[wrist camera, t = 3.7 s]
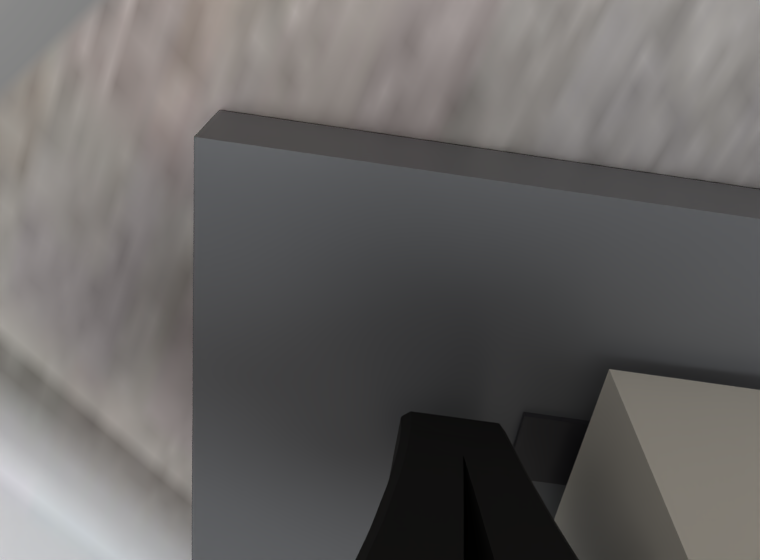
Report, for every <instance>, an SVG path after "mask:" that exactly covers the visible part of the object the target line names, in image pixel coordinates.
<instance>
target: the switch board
mask: <svg viewBox="0 0 760 560" xmlns="http://www.w3.org/2000/svg"><path fill="white" fill-rule="evenodd" d="M609 369H612V370H620V371H627V372H634V373H641V374H649V375H656V376H663V377H670V378H677V379H685V380H692V381H699V382H706V383H714V384H721V385H728V386H735V387H742V388H750V389H757V390H760V189H754V188H747V187H740V186H733V185H726V184H720V183H713V182H706V181H699V180H692V179H685V178H679V177H672V176H665V175H658V174H651V173H644V172H638V171H631V170H624V169H617V168H610V167H604V166H597V165H590V164H583V163H576V162H569V161H563V160H556V159H549V158H542V157H535V156H528V155H522V154H515V153H508V152H501V151H494V150H488V149H481V148H474V147H467V146H460V145H453V144H447V143H440V142H433V141H426V140H419V139H412V138H406V137H399V136H392V135H385V134H378V133H372V132H365V131H358V130H351V129H344V128H337V127H331V126H324V125H317V124H310V123H303V122H296V121H290V120H283V119H276V118H269V117H262V116H256V115H249V114H242V113H235V112H228V111H221V110H219V111H218V112H217V113H216V114H215V115H214V116H213V117H212V118H211V119H210V120H209V122H208V123H207V124H206V125H205V126H204V127H203V128H202V129H201V130H200V131H199V132H198V133H197V134H196V135H195V136H194V261H193V436H192V560H355V559H356V557H357V555H358V553H359V551H360V549H361V547H362V545H363V543H364V541H365V539H366V536H367V534H368V532H369V530H370V527H371V525H372V522H373V520H374V517H375V515H376V512H377V510H378V507H379V504H380V502H381V499H382V497H383V494H384V492H385V489H386V486H387V484H388V481H389V476H390V471H391V466H392V461H393V455H394V450H395V445H396V440H397V435H398V429H399V424H400V419H401V416H403V415H405V414H407V413H408V412H410V411H413V412H420V413H428V414H435V415H442V416H450V417H457V418H465V419H472V420H479V421H487V422H494V423H499V424H500V425H501V426H502V428H503V429H504V430H505V432H506V434H507V436H508V438H509V440H510V442H511V444H512V445H513V447H514V449H515V451H516V453H517V455H518V457H519V459H520V461H521V462H522V464H523V466H524V468H525V470H526V472H527V473H528V475H529V477H530V479H531V481H532V482H533V484H534V486H535V488H536V490H537V491H538V493H539V495H540V497H541V498H542V500H543V502H544V504H545V505H546V507H547V509H548V510H549V512H550V514H551V515H552V517H553V519H554V518H555V515H556V513H557V510H558V507H559V504H560V502H561V499H562V496H563V494H564V491H565V488H566V485H567V483H568V480H569V477H570V474H571V472H572V469H573V466H574V463H575V461H576V458H577V455H578V453H579V450H580V447H581V444H582V442H583V439H584V436H585V433H586V431H587V428H588V425H589V423H590V420H591V417H592V414H593V412H594V409H595V406H596V403H597V401H598V398H599V395H600V392H601V390H602V387H603V384H604V382H605V379H606V376H607V373H608V371H609Z"/></svg>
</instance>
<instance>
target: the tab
mask: <svg viewBox="0 0 760 560" xmlns="http://www.w3.org/2000/svg"><path fill="white" fill-rule="evenodd" d="M554 521H555V522H556V524H557V525H558V527H559V529H560V530H561V532H562V534H563V535H564V537H565V538H566V540H567V542H568V543H569V545H570V546H571V548H572V550H573V551H574V553H575V554H576V556H577V558H578V559H579V560H760V390H757V389H750V388H742V387H735V386H728V385H721V384H714V383H706V382H699V381H692V380H685V379H677V378H670V377H663V376H656V375H649V374H641V373H634V372H627V371H620V370H612V369H609V371H608V373H607V376H606V379H605V382H604V384H603V387H602V390H601V392H600V395H599V398H598V401H597V403H596V406H595V409H594V412H593V414H592V417H591V420H590V423H589V425H588V428H587V431H586V433H585V436H584V439H583V442H582V444H581V447H580V450H579V453H578V455H577V458H576V461H575V463H574V466H573V469H572V472H571V474H570V477H569V480H568V483H567V485H566V488H565V491H564V494H563V496H562V499H561V502H560V504H559V507H558V510H557V513H556V515H555V518H554Z"/></svg>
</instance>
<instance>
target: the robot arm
mask: <svg viewBox="0 0 760 560" xmlns="http://www.w3.org/2000/svg"><path fill="white" fill-rule="evenodd" d="M355 560H579V559H578V558H577V556H576V554H575V553H574V551H573V550H572V548H571V546H570V545H569V543H568V542H567V540H566V538H565V537H564V535H563V534H562V532H561V530H560V529H559V527H558V525H557V524H556V522H555V521H554V519H553V517H552V515H551V514H550V512H549V510H548V509H547V507H546V505H545V504H544V502H543V500H542V498H541V497H540V495H539V493H538V491H537V490H536V488H535V486H534V484H533V482H532V481H531V479H530V477H529V475H528V473H527V472H526V470H525V468H524V466H523V464H522V462H521V461H520V459H519V457H518V455H517V453H516V451H515V449H514V447H513V445H512V444H511V442H510V440H509V438H508V436H507V434H506V432H505V430H504V429H503V428H502V426H501V425H500V424H499V423H494V422H487V421H479V420H472V419H465V418H457V417H450V416H442V415H435V414H428V413H420V412H413V411H410V412H408V413H407V414H405V415H403V416H401V419H400V424H399V429H398V435H397V440H396V445H395V450H394V455H393V461H392V466H391V471H390V476H389V481H388V484H387V486H386V489H385V492H384V494H383V497H382V499H381V502H380V504H379V507H378V510H377V512H376V515H375V517H374V520H373V522H372V525H371V527H370V530H369V532H368V534H367V536H366V539H365V541H364V543H363V545H362V547H361V549H360V551H359V553H358V555H357V557H356V559H355Z"/></svg>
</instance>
